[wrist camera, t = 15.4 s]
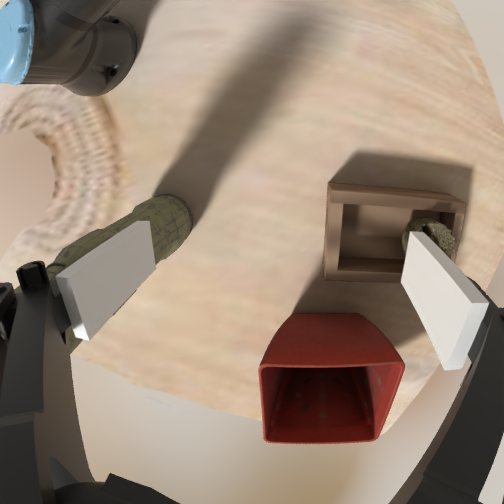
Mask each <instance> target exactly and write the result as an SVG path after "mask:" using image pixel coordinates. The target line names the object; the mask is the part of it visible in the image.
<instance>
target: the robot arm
mask: <svg viewBox="0 0 504 504" xmlns="http://www.w3.org/2000/svg"><path fill="white" fill-rule="evenodd" d="M119 1H120V0H10V1H9V2H7V3H6V4H5V5H4V6H3V7H2V9H1V10H0V83H6V84H12V85H19V84H60V85H62V86H64V87H65V88H67V89H69V90H70V91H72V92H73V93H75V94H78V95H81V96H100V95H103V94H105V93H107V92H109V91H111V90H112V89H113V88H115V87H116V86H117V85H118V84H119V83H120V82H121V81H122V80H123V79H124V77H125V76H126V75H127V73H128V71H129V70H130V68H131V66H132V63H133V61H134V58H135V54H136V48H137V40H136V35H135V32H134V30H133V28H132V27H131V25H130V24H129V23H127V22H126V21H124V20H122V19H120V18H118V17H115V16H105V15H106V14H107V13H108V12H109V11H110V10H111V9H112V8H113V7H114V6H115V5H116V4H117V3H118V2H119ZM155 269H156V264H155V258H154V251H153V244H152V236H151V228H150V221H136V222H135V223H133V224H131V225H130V226H128V227H127V228H125V229H124V230H122V231H120V232H119V233H117V234H116V235H114V236H113V237H111V238H110V239H108V240H107V241H105V242H104V243H102V244H101V245H99V246H98V247H96V248H95V249H93V250H92V251H90V252H89V253H87V254H86V255H85V256H83V257H82V258H80V259H79V260H77V261H76V262H75V263H73V264H72V265H70V266H69V267H68V268H66V269H65V270H63V271H62V272H61V273H59V274H58V275H57V276H55V277H56V278H55V279H54V280H53V281H51V282H49V278H48V275H47V271H46V268H45V264H44V262H43V261H33V262H30V263H27V264H25V265H23V266H21V267H20V268H18V269H17V271H16V273H17V276H18V280H19V283H20V286H21V289H22V292H21V293H15V292H14V289H13V286H12V283H9V282H6V283H0V326H1V328H2V331H3V333H4V335H5V336H4V338H2V336H1V333H0V504H180V503H178V502H176V501H174V500H172V499H170V498H168V497H166V496H165V495H163V494H161V493H159V492H157V491H156V490H154V489H152V488H150V487H147V486H144V485H141V484H138V483H135V482H132V481H129V480H127V479H124V478H122V477H119V476H116V475H114V474H111V473H110V474H109V476H108V478H107V480H106V481H105V482H96V481H95V480H94V478H93V477H92V474H91V472H90V469H89V467H88V462H87V459H86V454H85V450H84V445H83V441H82V436H81V431H80V426H79V421H78V415H77V409H76V402H75V395H74V388H73V380H72V371H71V360H70V346H69V337H68V334H67V331H66V330H67V329H68V328H69V327H70V326H72V329H73V331H74V334H75V337H77V338H81V339H84V340H88V341H90V340H91V339H92V337H93V336H94V335H95V334H96V333H97V332H98V331H99V330H100V328H101V327H102V326H103V325H104V324H105V323H106V322H107V321H108V320H109V318H110V317H111V316H112V315H113V314H114V313H115V312H116V311H117V310H118V309H119V307H120V306H121V305H122V304H123V303H124V302H125V301H126V300H127V299H128V298H129V297H130V296H131V295H132V294H133V292H134V291H135V290H136V289H137V288H138V287H139V286H140V285H141V284H142V283H143V282H144V281H145V280H146V279H147V278H148V277H149V276H150V275H151V274H152V273H153V272H154V270H155ZM401 283H402V285H403V287H404V289H405V291H406V292H407V294H408V296H409V298H410V300H411V302H412V304H413V306H414V308H415V309H416V311H417V313H418V315H419V317H420V319H421V321H422V323H423V325H424V327H425V329H426V331H427V333H428V336H429V338H430V340H431V342H432V344H433V346H434V348H435V350H436V353H437V355H438V357H439V359H440V362H441V364H442V366H443V368H444V370H454V369H461V368H462V366H463V364H464V362H465V360H466V358H467V356H469V358H470V360H471V362H472V363H471V365H470V367H469V369H468V371H467V373H466V375H465V377H464V379H463V381H462V382H461V384H460V386H461V388H460V389H459V392H458V394H457V396H456V398H455V400H454V402H453V404H452V406H451V408H450V410H449V412H448V414H447V416H446V418H445V420H444V421H443V423H442V425H441V427H440V429H439V430H438V432H437V434H436V436H435V437H434V439H433V441H432V442H431V444H430V446H429V447H428V449H427V450H426V452H425V454H424V455H423V457H422V459H421V460H420V461H419V463H418V465H417V466H416V467H415V469H414V470H413V472H412V473H411V475H410V476H409V477H408V479H407V480H406V482H405V483H404V484H403V486H402V487H401V488H400V490H399V491H398V492H397V494H396V495H395V496H394V498H393V499H392V500H391V501H390V503H389V504H483V503H481V502H478V498H479V495H480V492H481V490H482V488H483V486H484V484H485V481H486V479H487V477H488V474H489V472H490V469H491V467H492V464H493V462H494V459H495V456H496V454H497V451H498V448H499V445H500V442H501V439H502V436H503V433H504V308H498V307H497V306H496V305H495V304H494V302H493V301H492V300H491V299H490V298H489V296H488V295H486V293H485V292H484V291H483V290H481V287H480V286H479V285H478V284H477V283H476V282H475V281H474V280H472V279H470V278H469V277H467V276H466V275H465V274H464V273H463V272H462V271H461V270H460V269H459V268H458V267H457V266H456V265H455V264H454V262H453V261H452V260H451V259H450V258H449V257H448V256H447V255H446V254H445V253H444V252H443V251H442V250H441V249H440V248H439V247H438V246H437V245H436V244H435V243H434V242H433V241H432V240H431V239H430V238H429V237H428V236H427V235H426V234H425V233H424V232H413V231H410V235H409V241H408V247H407V253H406V258H405V263H404V269H403V274H402V278H401ZM502 504H504V497H503V502H502Z"/></svg>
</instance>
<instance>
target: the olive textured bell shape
mask: <svg viewBox="0 0 504 504" xmlns="http://www.w3.org/2000/svg"><path fill="white" fill-rule="evenodd" d="M410 231H413V232H418V231H419V232H424V233H425V234H426V235H427V236H428V237H429V238H430V239H431V240H432V241H433V242H434V243H435V244H436V245H437V246H438V247H439V248H440V249H441V250H442V251H443V252H444V253H445V254H446V255H447V256H448V257H449V258H450V259H451V254H455V252H454V249H453V248H452V247H454V246H455V245H456V243H455V241H454V239H455V237H454V235H453V234H452V233H451V230H450V229H449V228H447V227H446V226H445V225H444V224H441V223H439V222H437V221H435V220H433V219H430V218H426V217H420V218H416V219H414V220H412V221H411V222H410V223H409V224H408V225H407V226H406V228H405V229H404V232H403V236H402V244H403V248H404V251H405V254H406V253H407V247H408V241H409V235H410Z"/></svg>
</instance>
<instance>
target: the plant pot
mask: <svg viewBox="0 0 504 504" xmlns="http://www.w3.org/2000/svg"><path fill="white" fill-rule="evenodd" d="M404 369H405V364H404V362H403V360H402V358H401V357H400V355H399V354H398V352H397V351H396V349H395V348H394V347H393V345H392V344H391V343H390V341H389V340H388V339H387V338H386V337H385V335H384V334H383V333H382V332H381V331H380V330H379V329H378V328H377V327H376V326H375V325H374V324H372V323H371V322H370V321H369V320H368V319H366V318H365V317H364V316H362V315H360V314H358V313H325V314H303V313H296V314H292V315H291V316H290V317H289V318H287V320H286V321H285V322H284V323H283V324H282V325H281V327H280V328H279V329H278V331H277V332H276V334H275V335H274V337H273V338H272V340H271V342H270V344H269V346H268V348H267V350H266V352H265V354H264V356H263V359H262V361H261V363H260V366H259V369H258V374H259V385H260V395H261V408H262V422H263V439H264V440H265V441H266V442H268V443H283V444H336V443H337V444H339V443H356V442H357V443H358V442H370V441H374V440H376V439H377V438H378V437H379V435H380V433H381V431H382V428H383V426H384V423H385V421H386V418H387V416H388V413H389V411H390V408H391V406H392V403H393V400H394V398H395V395H396V392H397V389H398V387H399V384H400V381H401V378H402V375H403V372H404Z"/></svg>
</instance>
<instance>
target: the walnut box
mask: <svg viewBox="0 0 504 504" xmlns="http://www.w3.org/2000/svg"><path fill="white" fill-rule="evenodd" d="M465 208H466V203H465V202H463V201H461V200H459V199H457V198H455V197H454V196H452V195H450V194H445V193H437V192H429V191H421V190H412V189H402V188H392V187H380V186H368V185H355V184H340V183H328V189H327V209H326V225H325V240H324V253H323V269H324V277H325V280H333V281H357V282H385V283H401V278H402V274H403V269H404V263H405V258H406V254H405V251H404V248H403V244H402V236H403V232H404V229H405V228H406V226H407V225H408V224H409V223H410V222H411V221H412V220H414V219H416V218H420V217H426V218H430V219H433V220H435V221H437V222H439V223H441V224H444V225H445V226H446V227H447V228H449V229H450V230H451V233H452V234H453V235H454V237H455V239H454V241H455V243H456V245H455V246H454V247H452V248H453V249H454V252H455V254H451V260H452V261H453V262H454V264H455V260H456V255H457V251H458V246H459V241H460V236H461V231H462V226H463V220H464V214H465ZM418 232H419V231H418Z"/></svg>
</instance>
